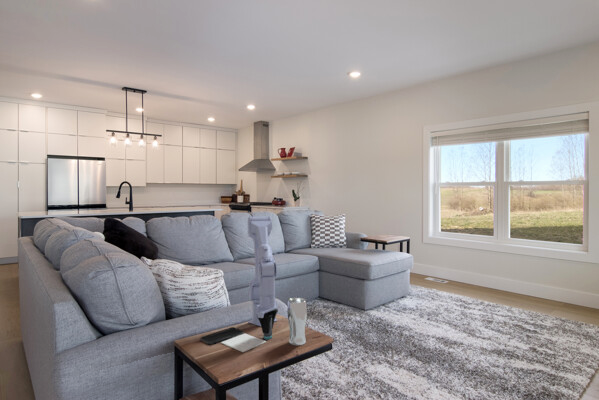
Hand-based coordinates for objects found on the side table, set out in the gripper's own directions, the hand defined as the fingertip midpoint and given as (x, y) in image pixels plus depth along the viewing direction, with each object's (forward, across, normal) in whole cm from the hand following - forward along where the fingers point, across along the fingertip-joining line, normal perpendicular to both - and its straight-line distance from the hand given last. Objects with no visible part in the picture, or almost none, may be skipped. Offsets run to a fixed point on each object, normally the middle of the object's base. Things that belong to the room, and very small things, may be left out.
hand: (267, 331), depth 132 cm
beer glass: (+3, +1, +12) cm, 12 cm away
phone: (+3, +3, -17) cm, 17 cm away
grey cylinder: (+2, 0, 0) cm, 2 cm away
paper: (+2, +6, -7) cm, 10 cm away
